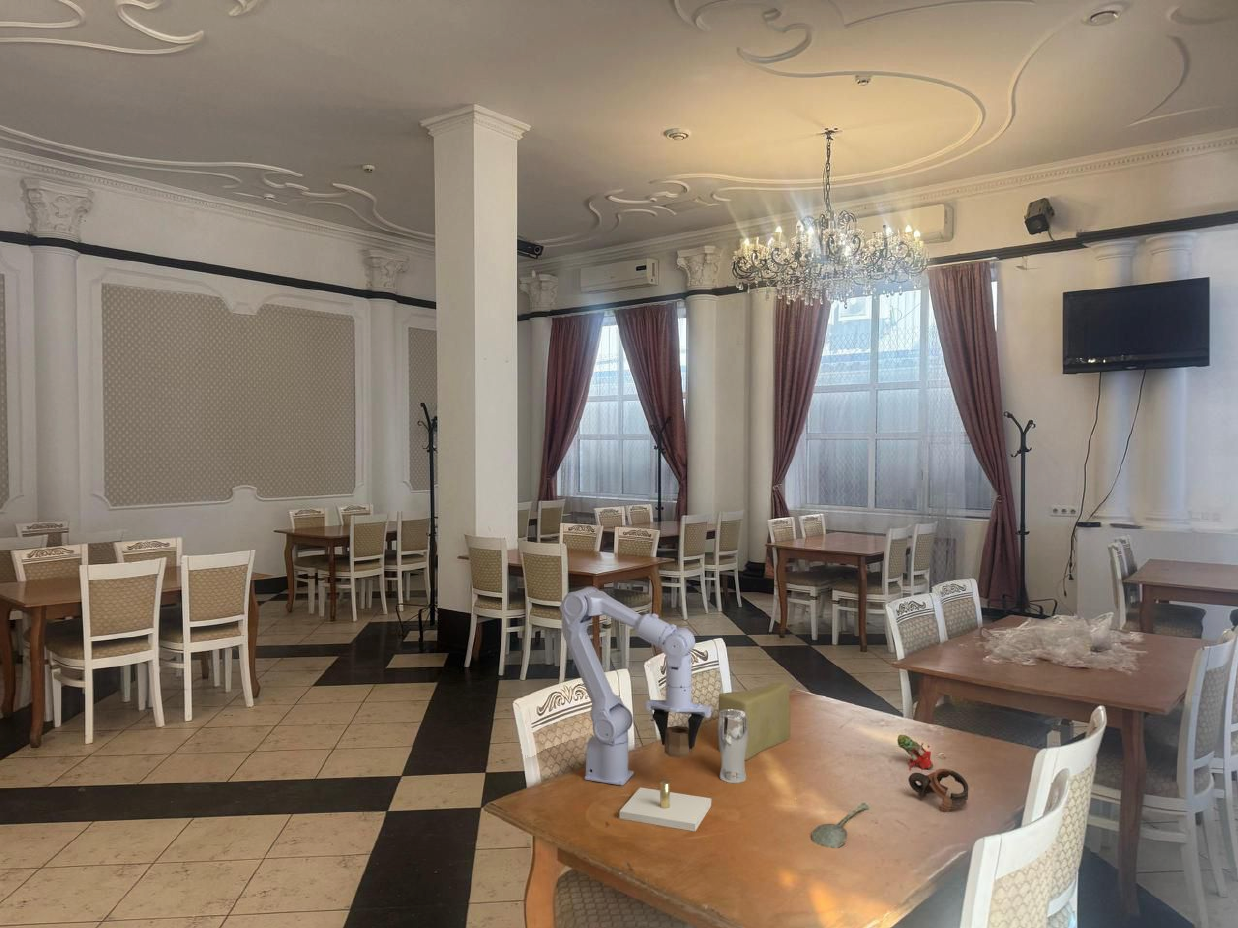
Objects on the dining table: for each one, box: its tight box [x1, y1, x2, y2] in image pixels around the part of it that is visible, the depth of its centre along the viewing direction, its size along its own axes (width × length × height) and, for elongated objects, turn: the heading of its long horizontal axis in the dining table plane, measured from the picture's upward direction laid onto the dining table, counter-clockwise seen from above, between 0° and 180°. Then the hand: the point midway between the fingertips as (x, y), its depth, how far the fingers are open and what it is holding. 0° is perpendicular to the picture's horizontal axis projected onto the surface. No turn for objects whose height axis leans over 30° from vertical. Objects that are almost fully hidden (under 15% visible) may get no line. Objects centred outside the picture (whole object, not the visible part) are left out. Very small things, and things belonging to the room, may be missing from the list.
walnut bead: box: [664, 725, 693, 758], centre depth 180 cm, size 6×6×5 cm
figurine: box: [896, 734, 934, 771], centre depth 196 cm, size 7×9×10 cm
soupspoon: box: [811, 802, 870, 849], centre depth 163 cm, size 22×3×6 cm
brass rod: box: [659, 780, 671, 809], centre depth 168 cm, size 2×2×6 cm
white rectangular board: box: [618, 786, 712, 832], centre depth 169 cm, size 16×13×2 cm
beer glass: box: [717, 709, 748, 784], centre depth 187 cm, size 7×7×15 cm
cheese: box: [717, 682, 791, 761], centre depth 208 cm, size 22×10×15 cm, turn 129°
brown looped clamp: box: [908, 768, 969, 813], centre depth 174 cm, size 12×10×8 cm
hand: (678, 745), depth 180 cm, fingers closed on walnut bead, 6 cm apart
